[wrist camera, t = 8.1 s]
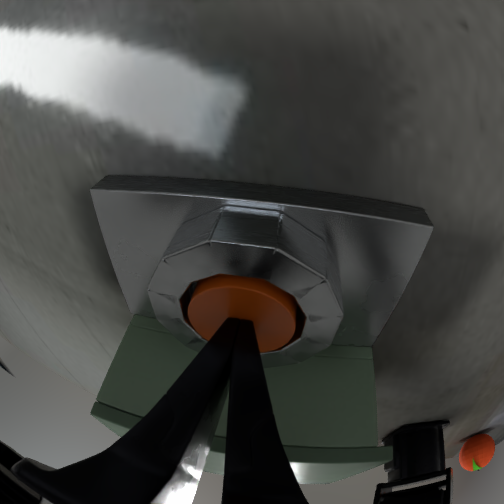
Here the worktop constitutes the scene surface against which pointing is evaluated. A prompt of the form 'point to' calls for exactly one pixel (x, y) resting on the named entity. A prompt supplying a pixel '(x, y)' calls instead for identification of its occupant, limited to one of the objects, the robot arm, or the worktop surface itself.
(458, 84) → the worktop surface
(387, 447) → the lid
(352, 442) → the fryer
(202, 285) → the button
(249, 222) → the control panel
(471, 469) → the clementine
